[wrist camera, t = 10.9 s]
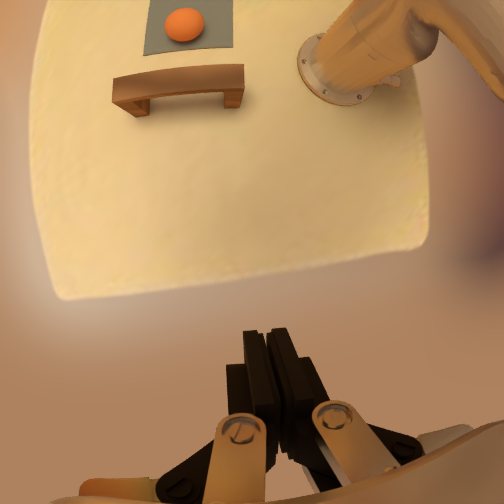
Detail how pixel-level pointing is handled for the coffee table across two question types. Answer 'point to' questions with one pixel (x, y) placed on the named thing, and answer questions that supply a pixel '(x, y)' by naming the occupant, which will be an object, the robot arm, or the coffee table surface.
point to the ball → (184, 24)
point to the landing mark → (212, 36)
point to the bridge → (178, 85)
